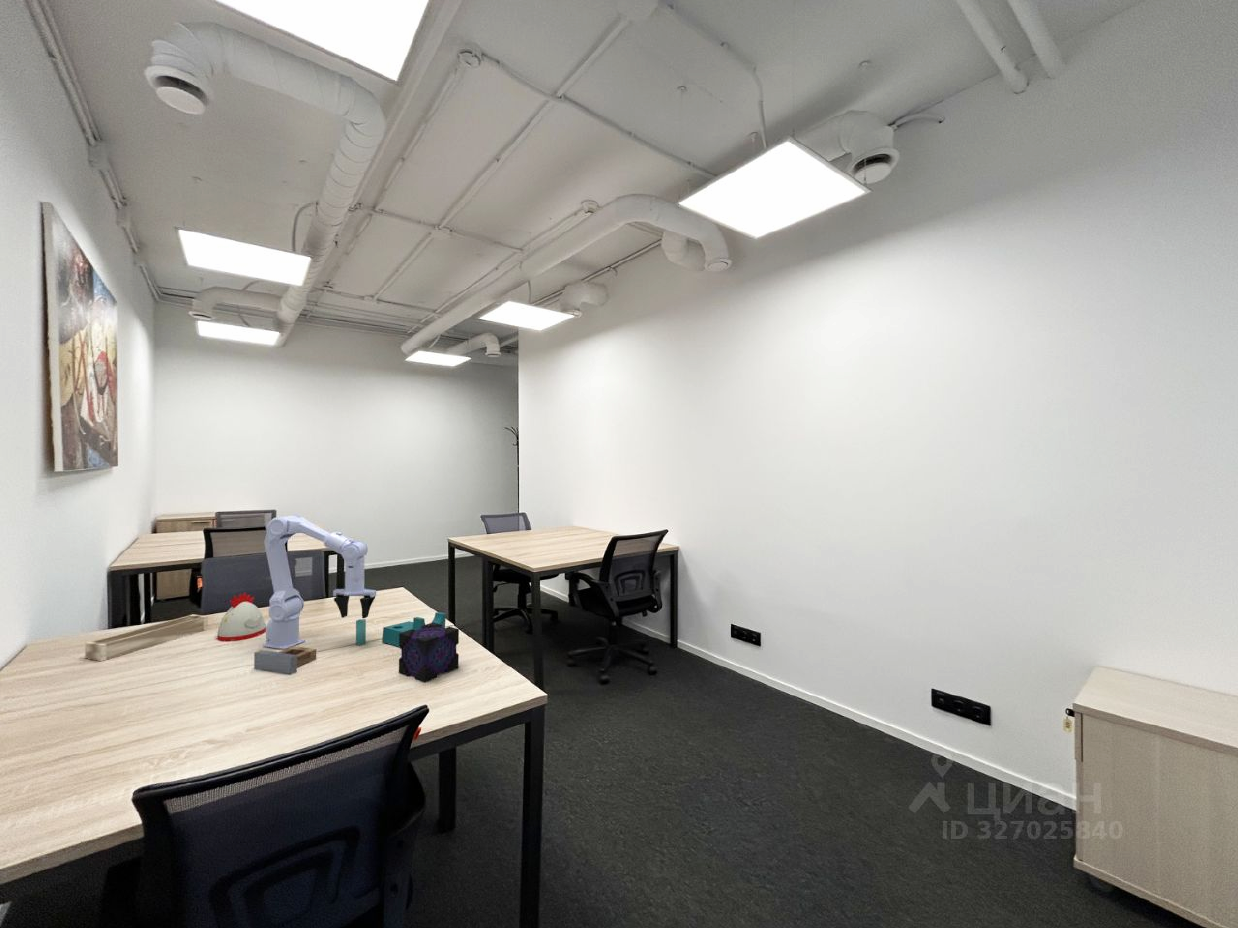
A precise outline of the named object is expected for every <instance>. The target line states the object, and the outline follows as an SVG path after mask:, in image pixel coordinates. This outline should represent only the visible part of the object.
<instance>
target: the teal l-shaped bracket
mask: <svg viewBox="0 0 1238 928" xmlns="http://www.w3.org/2000/svg"><path fill="white" fill-rule="evenodd" d="M446 618H447V613H445V612H439V611H438V612H435V613H434V617H433V620H432V621H431V622H430V623H432V622H434V623H438V624H441V625H442V627H444V628H446ZM425 621H426V620H425V618H424V617H418V616H414V617H413V620H412V621H410V620H409V621H405V622H401V623H395V624H391V625H387V626H384V627H382V638H381V639H382V641H381V642H382V643H385V644H387V645H388V644H389V645H392V646H395V647H396V646H397V647H399V633H402V632H405V631H408V630H411V629H413V630H418V629H421V626H423V625H426V622H425Z"/></svg>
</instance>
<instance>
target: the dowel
mask: <svg viewBox="0 0 1238 928" xmlns="http://www.w3.org/2000/svg"><path fill="white" fill-rule="evenodd" d="M366 629H367V619H366V618H361V619H357V620H356V622H355V645H356V646H362V645H365V644H366V642H367V641H366V639H367V635H366V634H367V633H366V632H367V630H366Z"/></svg>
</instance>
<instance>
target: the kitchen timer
mask: <svg viewBox="0 0 1238 928" xmlns="http://www.w3.org/2000/svg"><path fill="white" fill-rule="evenodd" d="M254 600H255V596H252V597H251V594H248V595H247V592H243V594H242V593H239V594H238V597H237V595H233V600H231V599H230V600H229V603H230V605H231V607H230V608H229V609H228V610H227V611H226V612H225V614H224V615H223V616H222V618H221V620H220V623H219V626H218V630H217V632H216V633H217V636H216V637H217V640H218V641H219V642H226V643H227V642H228V643H230V642H240V641H245V640H249V639H253V638H256V637H259V636H262V635H263V634H266V626H267V623H266V621H265V618H264V615H263V614H262V612H261V610H260V609H259V607H257V606H256V604H253V602H254Z"/></svg>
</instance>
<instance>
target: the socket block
mask: <svg viewBox="0 0 1238 928" xmlns="http://www.w3.org/2000/svg"><path fill="white" fill-rule="evenodd" d="M278 652H279V653H286V654H293V655H297V668H298V667H301V666H302V665H305V664H307V663H309V662H313V661H314V660H316V659H317V649H316V648H310V647H303V646H297V645H294V646H292V647H289V648H287V649H282V650H280V651H278Z"/></svg>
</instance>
